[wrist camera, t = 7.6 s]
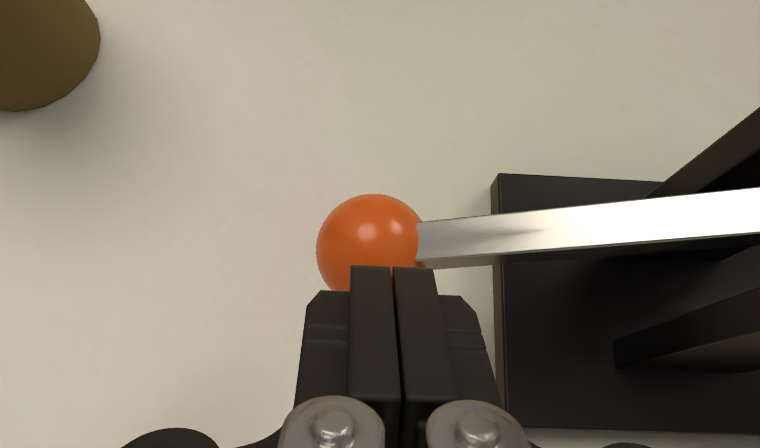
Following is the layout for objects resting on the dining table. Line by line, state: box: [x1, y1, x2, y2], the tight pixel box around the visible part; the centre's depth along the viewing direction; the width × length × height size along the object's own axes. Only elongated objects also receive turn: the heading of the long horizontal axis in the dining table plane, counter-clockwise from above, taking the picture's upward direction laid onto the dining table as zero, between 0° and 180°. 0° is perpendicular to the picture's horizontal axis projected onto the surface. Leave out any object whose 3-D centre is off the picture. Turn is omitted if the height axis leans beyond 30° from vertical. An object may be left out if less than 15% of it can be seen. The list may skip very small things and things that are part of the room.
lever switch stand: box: [491, 107, 760, 436], centre depth 18 cm, size 12×9×13 cm
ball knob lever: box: [316, 187, 760, 291], centre depth 16 cm, size 15×3×3 cm, turn 89°
